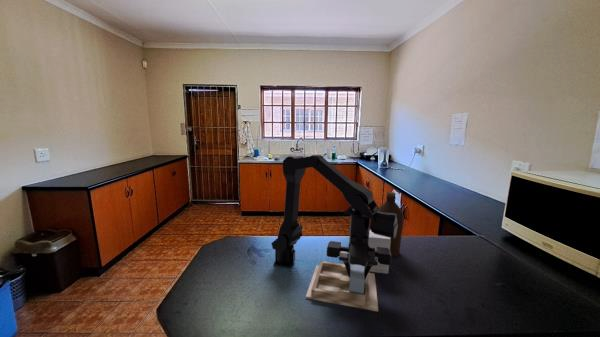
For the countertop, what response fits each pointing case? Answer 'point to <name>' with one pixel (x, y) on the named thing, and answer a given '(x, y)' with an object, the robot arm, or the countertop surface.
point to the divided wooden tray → (341, 287)
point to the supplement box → (374, 243)
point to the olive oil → (394, 208)
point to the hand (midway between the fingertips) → (356, 278)
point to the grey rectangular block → (357, 279)
